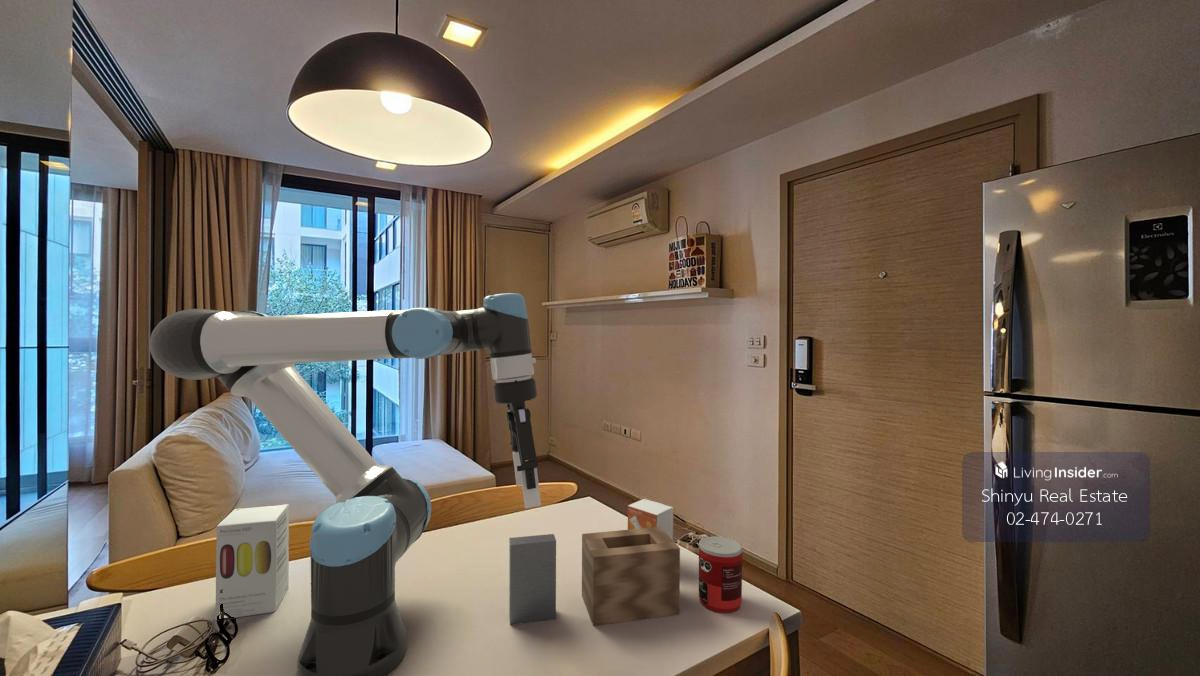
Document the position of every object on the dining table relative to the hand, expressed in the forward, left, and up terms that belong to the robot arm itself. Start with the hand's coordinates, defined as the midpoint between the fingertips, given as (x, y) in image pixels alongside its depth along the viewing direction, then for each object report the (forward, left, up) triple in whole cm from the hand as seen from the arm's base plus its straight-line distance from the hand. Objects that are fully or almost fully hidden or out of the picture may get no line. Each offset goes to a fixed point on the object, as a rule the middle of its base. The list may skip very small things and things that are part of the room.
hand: (527, 494), depth 90 cm
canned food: (+36, -5, -21) cm, 42 cm away
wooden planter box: (+19, -2, -21) cm, 28 cm away
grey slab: (+1, -2, -21) cm, 21 cm away
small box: (+28, +12, -21) cm, 37 cm away
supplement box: (-49, +14, -21) cm, 56 cm away
